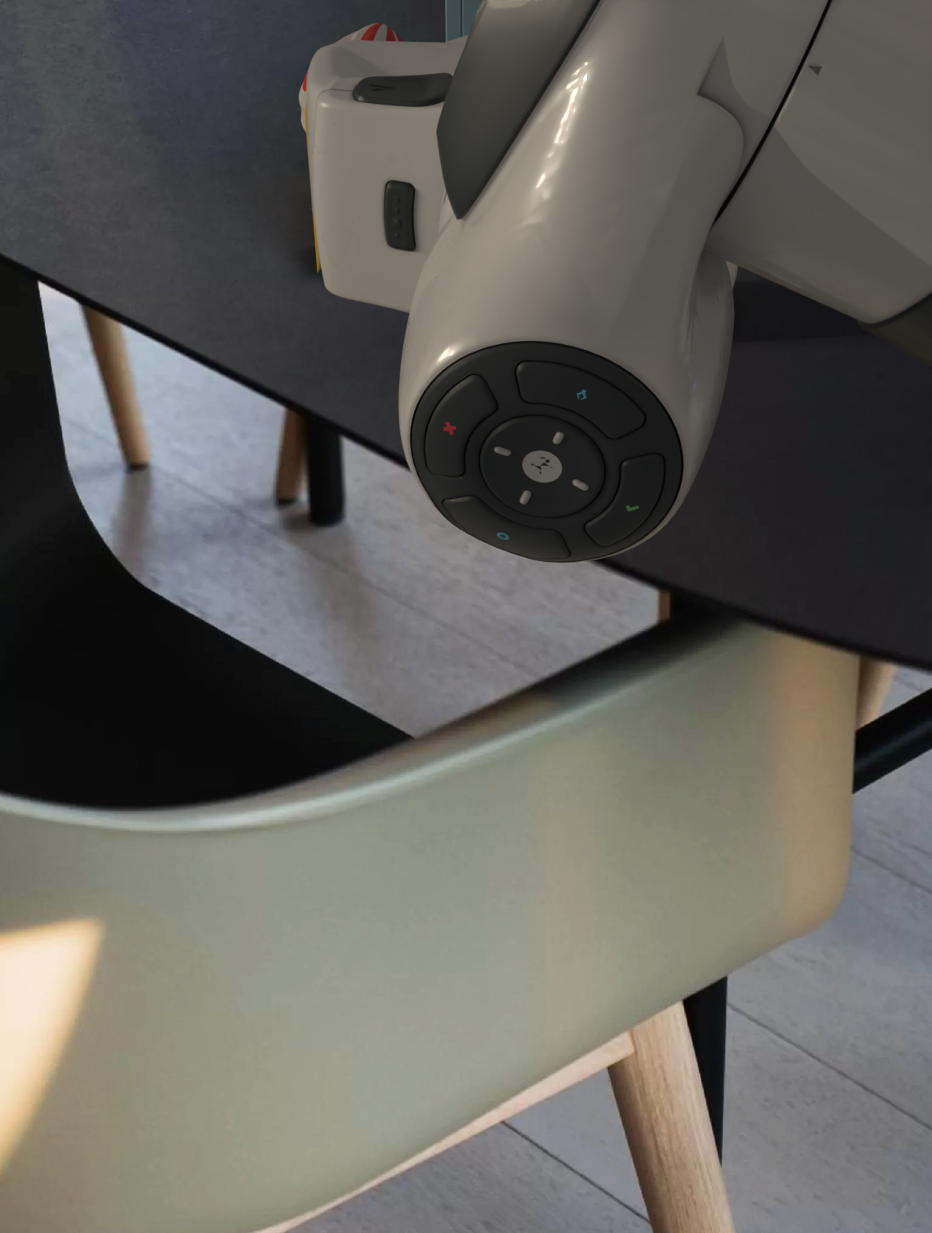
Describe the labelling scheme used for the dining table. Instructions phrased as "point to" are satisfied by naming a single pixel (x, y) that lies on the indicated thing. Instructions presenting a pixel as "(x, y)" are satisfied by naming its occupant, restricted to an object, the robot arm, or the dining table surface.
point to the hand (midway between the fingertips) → (629, 46)
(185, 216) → the dining table surface
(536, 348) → the robot arm
